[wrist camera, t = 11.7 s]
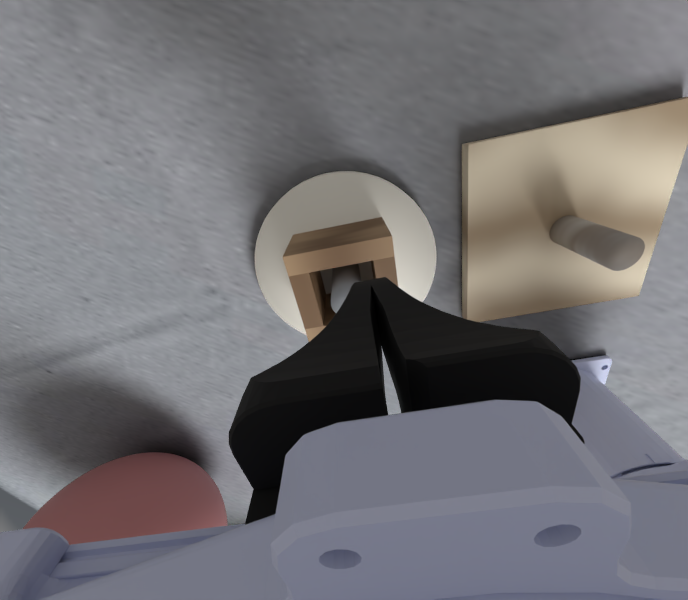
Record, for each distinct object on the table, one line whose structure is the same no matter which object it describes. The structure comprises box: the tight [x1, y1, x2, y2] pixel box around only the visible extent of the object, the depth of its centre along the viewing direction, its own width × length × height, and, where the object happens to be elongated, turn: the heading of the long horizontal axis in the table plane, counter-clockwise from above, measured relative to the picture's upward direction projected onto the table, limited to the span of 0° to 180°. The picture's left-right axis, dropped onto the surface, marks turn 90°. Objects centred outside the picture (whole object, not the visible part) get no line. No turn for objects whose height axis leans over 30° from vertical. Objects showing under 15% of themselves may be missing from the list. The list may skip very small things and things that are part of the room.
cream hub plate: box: [255, 171, 437, 335], centre depth 18 cm, size 12×12×6 cm
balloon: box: [23, 452, 227, 545], centre depth 25 cm, size 15×20×15 cm
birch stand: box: [462, 97, 688, 322], centre depth 17 cm, size 12×12×6 cm
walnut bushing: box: [283, 217, 398, 342], centre depth 18 cm, size 6×6×4 cm
